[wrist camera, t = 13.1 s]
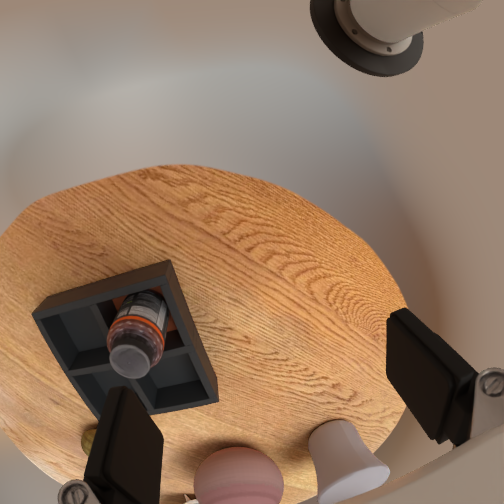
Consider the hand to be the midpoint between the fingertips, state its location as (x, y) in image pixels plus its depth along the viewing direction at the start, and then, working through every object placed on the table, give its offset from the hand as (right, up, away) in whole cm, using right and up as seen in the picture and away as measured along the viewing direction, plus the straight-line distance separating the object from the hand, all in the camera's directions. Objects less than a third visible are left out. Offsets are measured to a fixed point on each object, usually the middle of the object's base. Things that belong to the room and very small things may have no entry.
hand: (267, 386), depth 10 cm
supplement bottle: (-13, -2, +26) cm, 30 cm away
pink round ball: (-4, -32, +38) cm, 50 cm away
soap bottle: (+14, -29, +39) cm, 51 cm away
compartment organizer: (-17, -7, +28) cm, 33 cm away
